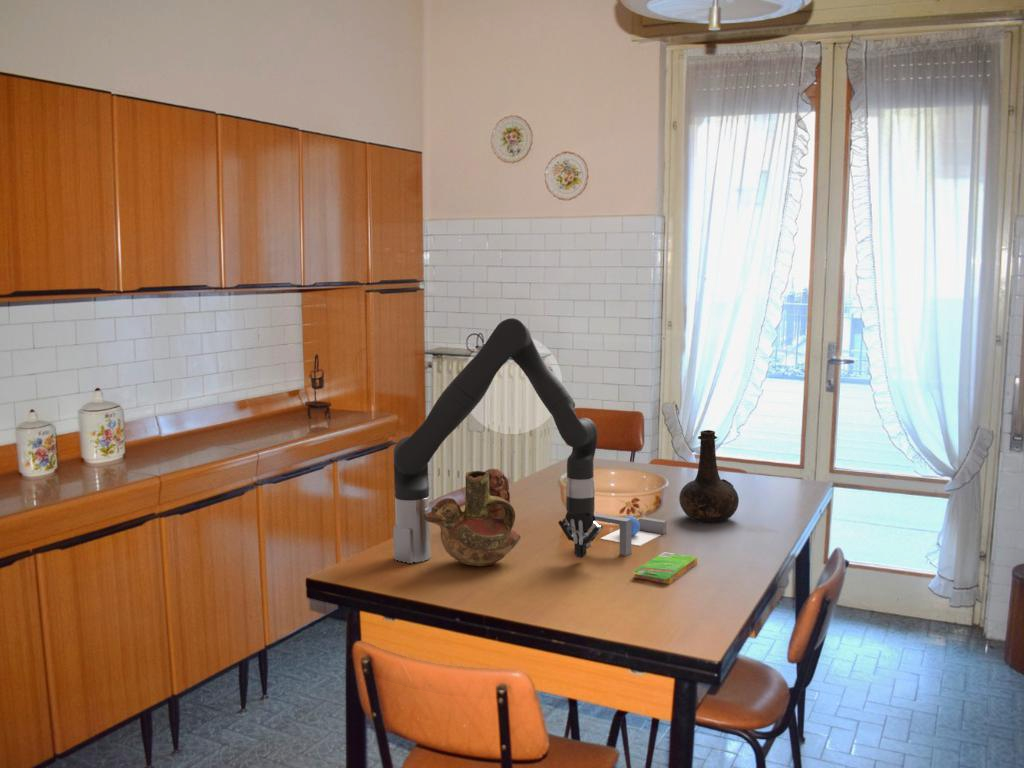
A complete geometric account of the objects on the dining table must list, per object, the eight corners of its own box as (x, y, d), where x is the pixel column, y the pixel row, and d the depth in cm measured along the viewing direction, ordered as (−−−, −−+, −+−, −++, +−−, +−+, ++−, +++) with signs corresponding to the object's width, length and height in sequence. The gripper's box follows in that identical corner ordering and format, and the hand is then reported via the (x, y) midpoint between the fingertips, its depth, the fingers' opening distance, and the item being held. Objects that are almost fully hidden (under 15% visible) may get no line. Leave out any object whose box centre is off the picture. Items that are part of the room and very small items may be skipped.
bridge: (626, 555, 253) (626, 521, 252) (579, 546, 262) (579, 513, 261) (631, 553, 256) (631, 518, 254) (584, 544, 264) (584, 511, 263)
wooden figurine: (490, 533, 277) (489, 474, 275) (474, 529, 281) (473, 471, 278) (514, 524, 286) (513, 466, 284) (498, 520, 290) (497, 464, 288)
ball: (644, 523, 273) (639, 541, 270) (626, 521, 277) (621, 539, 273) (638, 512, 269) (632, 530, 266) (619, 511, 273) (613, 529, 269)
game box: (697, 568, 246) (666, 587, 229) (663, 562, 251) (630, 580, 234) (697, 556, 246) (666, 574, 229) (663, 551, 251) (630, 568, 234)
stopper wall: (663, 534, 273) (663, 522, 273) (624, 527, 281) (624, 516, 281) (666, 532, 275) (666, 520, 275) (627, 525, 283) (627, 514, 282)
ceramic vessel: (420, 559, 253) (417, 469, 250) (512, 550, 259) (510, 462, 256) (431, 579, 236) (429, 483, 233) (529, 569, 243) (528, 475, 240)
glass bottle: (749, 523, 284) (751, 433, 280) (699, 530, 277) (700, 438, 274) (716, 509, 300) (717, 424, 297) (668, 515, 293) (669, 428, 290)
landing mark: (640, 546, 262) (640, 545, 262) (600, 538, 269) (600, 538, 269) (660, 535, 272) (661, 534, 272) (622, 528, 280) (622, 527, 280)
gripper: (551, 493, 247) (552, 556, 249) (594, 499, 239) (594, 564, 241) (566, 487, 253) (567, 549, 255) (609, 494, 245) (609, 557, 247)
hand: (580, 556), depth 248 cm, fingers closed
